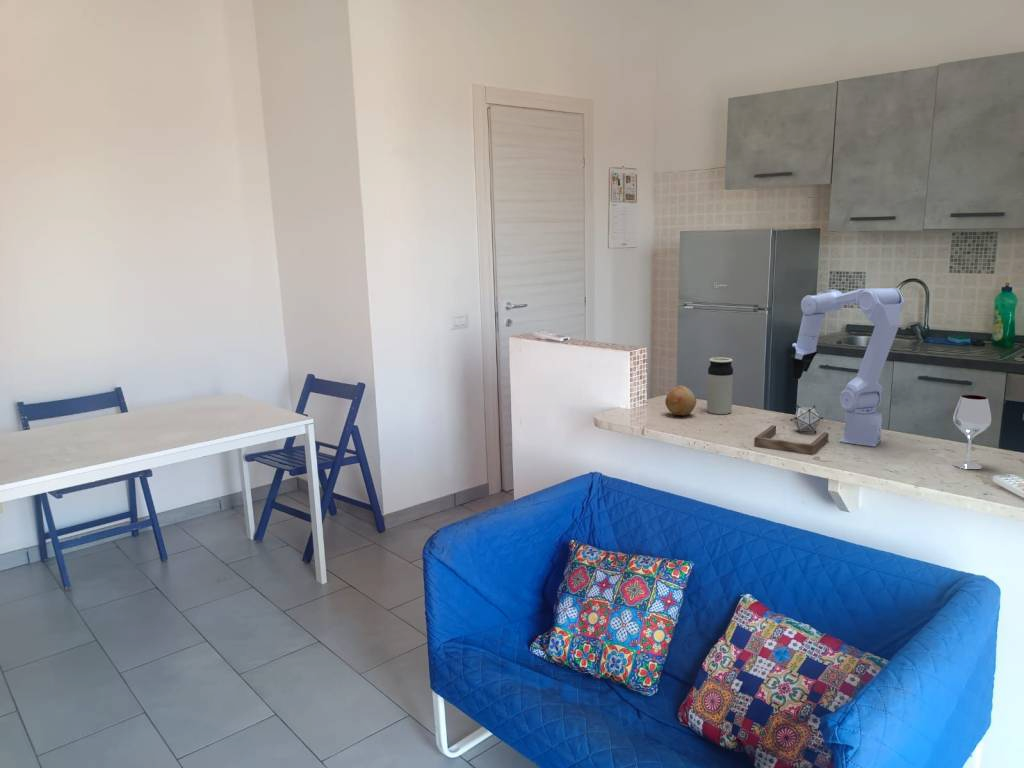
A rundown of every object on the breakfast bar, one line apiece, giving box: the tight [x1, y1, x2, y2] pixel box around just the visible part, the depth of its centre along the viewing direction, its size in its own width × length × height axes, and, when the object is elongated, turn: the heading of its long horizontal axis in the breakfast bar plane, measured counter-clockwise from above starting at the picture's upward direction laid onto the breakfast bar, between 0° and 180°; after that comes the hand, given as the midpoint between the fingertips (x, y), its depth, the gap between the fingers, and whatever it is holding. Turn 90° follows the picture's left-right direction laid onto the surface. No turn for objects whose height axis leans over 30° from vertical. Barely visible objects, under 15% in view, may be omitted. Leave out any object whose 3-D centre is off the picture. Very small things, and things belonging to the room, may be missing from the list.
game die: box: [790, 404, 824, 434], centre depth 227 cm, size 9×8×10 cm
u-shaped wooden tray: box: [753, 425, 830, 456], centre depth 215 cm, size 16×16×2 cm
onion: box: [664, 385, 697, 417], centre depth 249 cm, size 10×10×10 cm
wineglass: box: [952, 394, 992, 470], centre depth 190 cm, size 8×8×18 cm
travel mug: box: [706, 356, 734, 415], centre depth 252 cm, size 8×8×18 cm
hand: (799, 374), depth 237 cm, fingers open, 7 cm apart
